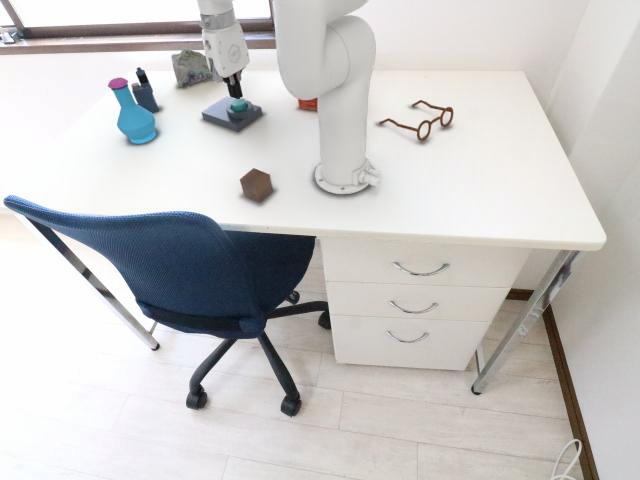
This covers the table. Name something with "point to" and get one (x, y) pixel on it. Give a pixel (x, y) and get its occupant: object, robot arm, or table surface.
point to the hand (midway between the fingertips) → (236, 96)
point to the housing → (231, 114)
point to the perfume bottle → (132, 114)
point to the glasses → (448, 109)
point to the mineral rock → (190, 67)
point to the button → (238, 104)
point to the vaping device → (144, 92)
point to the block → (256, 185)
